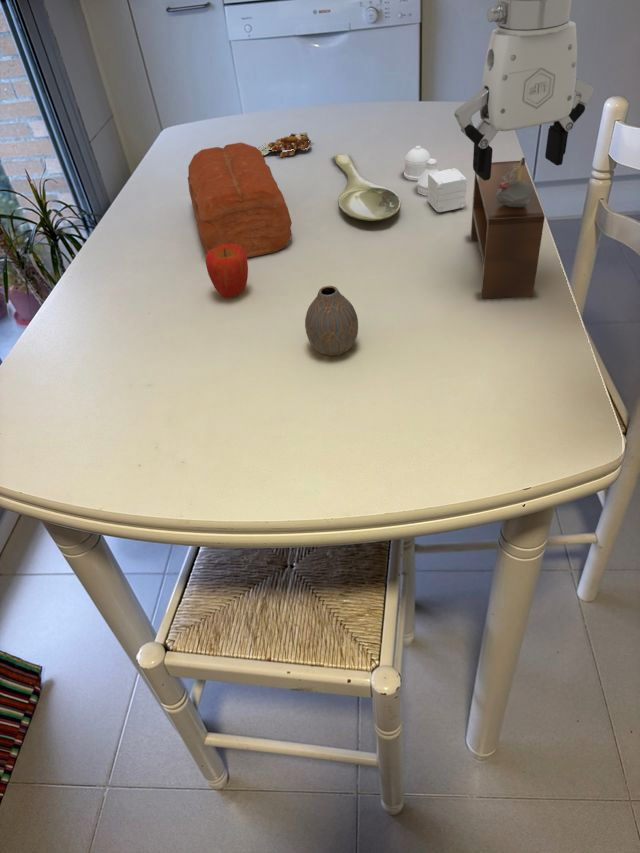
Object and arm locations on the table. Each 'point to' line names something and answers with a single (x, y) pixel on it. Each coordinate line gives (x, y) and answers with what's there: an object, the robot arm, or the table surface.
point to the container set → (435, 181)
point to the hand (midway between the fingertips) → (518, 169)
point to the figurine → (514, 189)
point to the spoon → (365, 195)
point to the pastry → (288, 144)
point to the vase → (331, 322)
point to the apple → (227, 269)
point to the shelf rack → (506, 235)
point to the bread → (237, 200)
